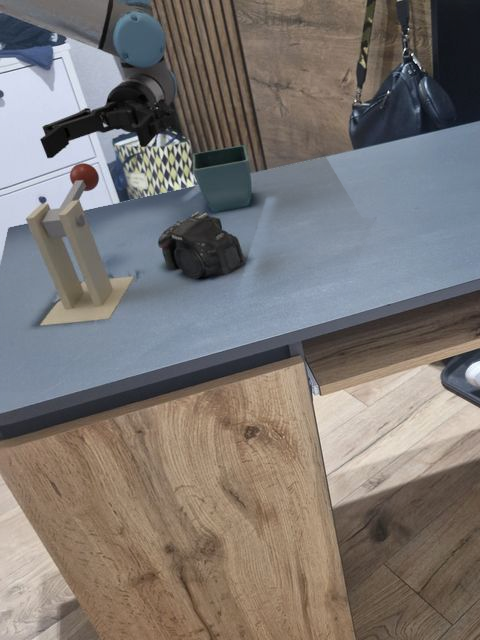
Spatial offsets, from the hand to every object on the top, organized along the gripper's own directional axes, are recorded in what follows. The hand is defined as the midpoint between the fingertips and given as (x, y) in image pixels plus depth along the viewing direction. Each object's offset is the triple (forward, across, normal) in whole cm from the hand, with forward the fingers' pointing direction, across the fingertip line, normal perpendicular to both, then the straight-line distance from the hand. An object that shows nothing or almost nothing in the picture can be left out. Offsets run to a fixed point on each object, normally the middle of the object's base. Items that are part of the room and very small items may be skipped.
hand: (93, 143), depth 89 cm
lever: (+11, 0, -5) cm, 12 cm away
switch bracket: (+17, 0, -17) cm, 24 cm away
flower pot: (-12, -14, -17) cm, 25 cm away
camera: (+10, -14, -17) cm, 24 cm away
